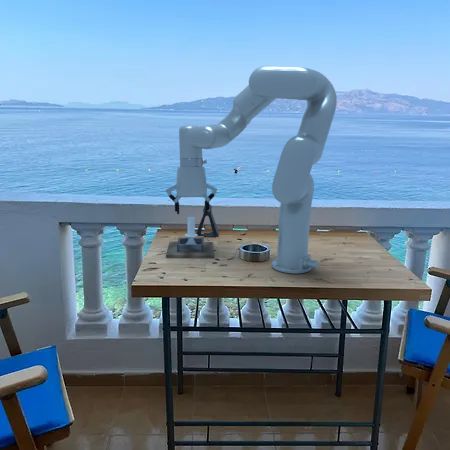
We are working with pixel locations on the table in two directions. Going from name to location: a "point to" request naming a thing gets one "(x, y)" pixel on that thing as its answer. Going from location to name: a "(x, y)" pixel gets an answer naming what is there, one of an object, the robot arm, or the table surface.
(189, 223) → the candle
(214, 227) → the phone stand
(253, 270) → the table surface
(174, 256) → the keeper board
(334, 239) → the table surface
